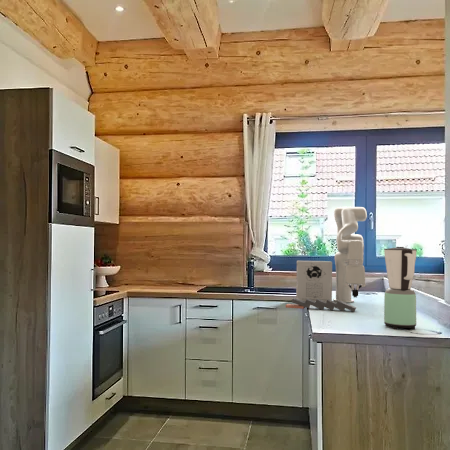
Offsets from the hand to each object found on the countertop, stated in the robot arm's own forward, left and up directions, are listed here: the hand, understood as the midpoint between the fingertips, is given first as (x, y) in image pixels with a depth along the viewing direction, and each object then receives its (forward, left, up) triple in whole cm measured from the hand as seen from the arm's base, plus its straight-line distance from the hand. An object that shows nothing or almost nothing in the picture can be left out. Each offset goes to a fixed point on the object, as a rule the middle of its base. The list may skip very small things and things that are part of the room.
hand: (355, 297), depth 244 cm
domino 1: (0, -27, -7) cm, 28 cm away
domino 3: (0, -17, -7) cm, 18 cm away
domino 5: (0, -5, -7) cm, 9 cm away
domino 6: (0, 0, -7) cm, 7 cm away
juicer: (+42, +22, -8) cm, 48 cm away
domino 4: (0, -11, -7) cm, 13 cm away
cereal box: (-38, -28, -8) cm, 48 cm away
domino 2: (0, -24, -6) cm, 25 cm away
